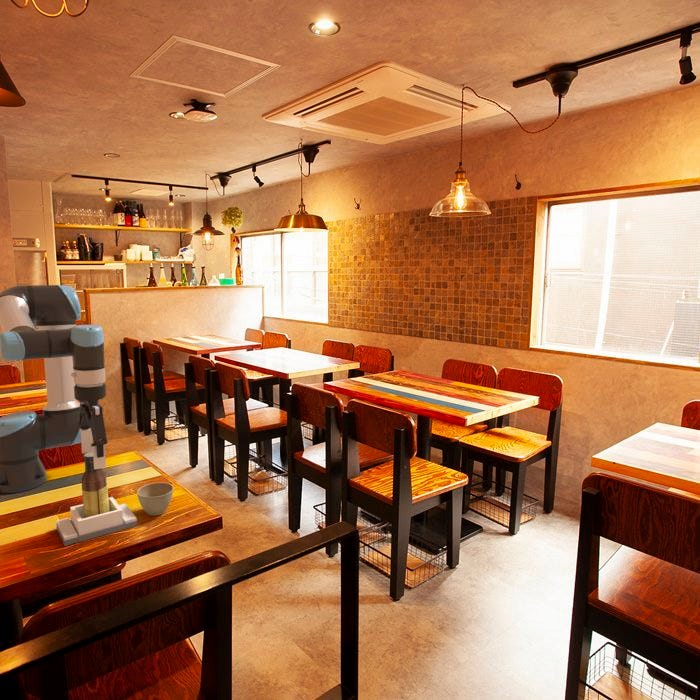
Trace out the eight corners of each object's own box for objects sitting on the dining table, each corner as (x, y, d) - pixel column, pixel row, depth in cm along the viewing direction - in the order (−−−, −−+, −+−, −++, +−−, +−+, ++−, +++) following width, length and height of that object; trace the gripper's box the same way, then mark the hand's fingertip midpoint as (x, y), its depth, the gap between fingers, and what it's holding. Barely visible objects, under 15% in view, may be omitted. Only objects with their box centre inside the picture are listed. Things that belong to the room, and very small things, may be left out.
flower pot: (139, 506, 155) (138, 484, 154) (174, 502, 158) (173, 481, 157) (136, 522, 146) (135, 498, 145) (173, 518, 149) (173, 494, 148)
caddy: (56, 528, 141) (55, 509, 140) (125, 510, 152) (124, 493, 151) (64, 546, 133) (63, 526, 132) (137, 525, 144) (136, 507, 143)
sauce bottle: (107, 514, 147) (104, 447, 144) (112, 523, 142) (109, 454, 139) (81, 520, 143) (78, 451, 140) (85, 529, 138) (82, 459, 135)
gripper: (64, 376, 143) (68, 448, 147) (85, 396, 124) (89, 478, 128) (93, 373, 148) (96, 443, 151) (118, 392, 129) (121, 471, 132)
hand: (93, 459), depth 140 cm, fingers open, 13 cm apart
